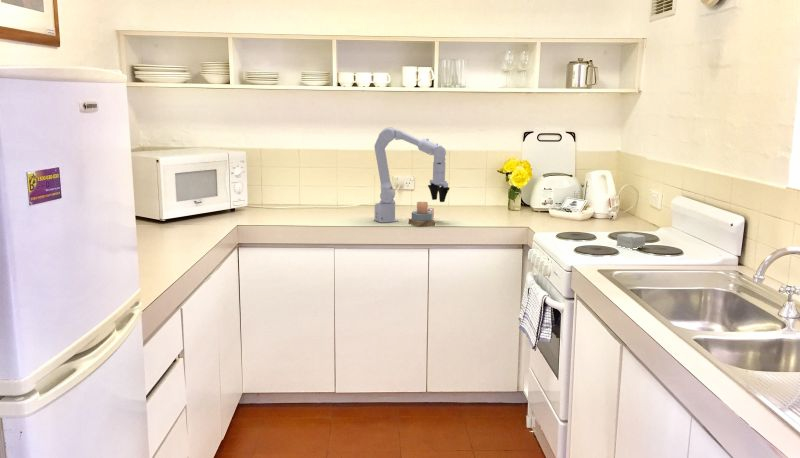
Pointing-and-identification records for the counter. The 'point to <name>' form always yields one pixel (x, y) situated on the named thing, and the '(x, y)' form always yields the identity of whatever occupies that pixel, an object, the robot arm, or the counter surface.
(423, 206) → the terracotta cylinder
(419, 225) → the walnut slab
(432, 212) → the ink box
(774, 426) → the counter surface
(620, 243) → the small box
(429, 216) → the slate block
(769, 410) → the counter surface
